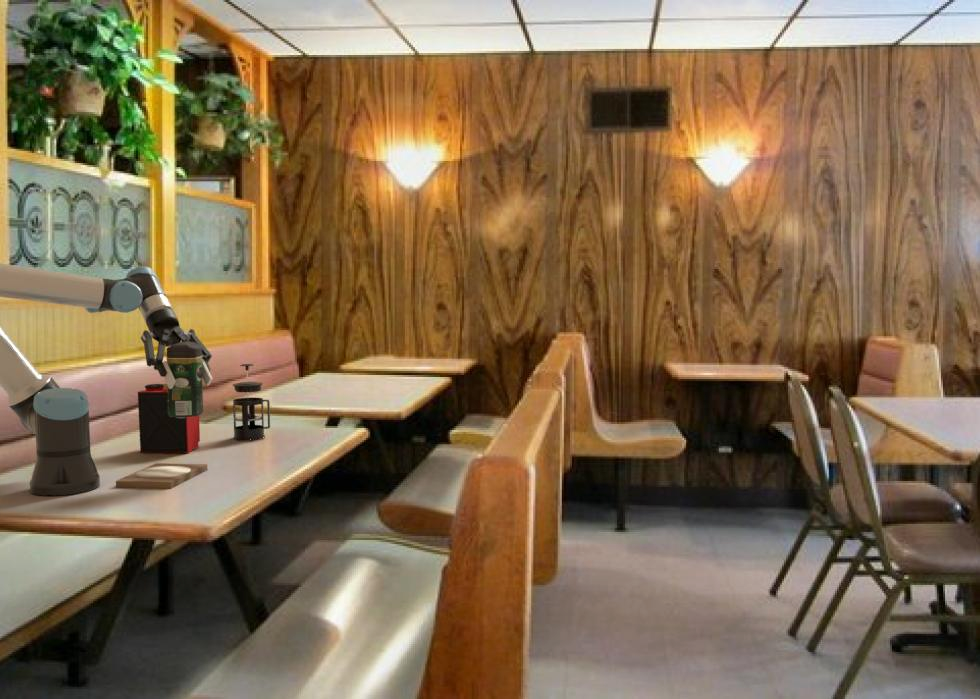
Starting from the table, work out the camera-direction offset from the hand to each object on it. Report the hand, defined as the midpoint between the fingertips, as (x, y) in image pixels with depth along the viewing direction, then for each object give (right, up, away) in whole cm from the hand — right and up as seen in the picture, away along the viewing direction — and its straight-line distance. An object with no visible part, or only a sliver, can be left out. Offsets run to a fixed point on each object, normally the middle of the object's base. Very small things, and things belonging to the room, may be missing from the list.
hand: (191, 383), depth 225 cm
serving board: (-8, -24, +2) cm, 25 cm away
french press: (0, -19, +57) cm, 60 cm away
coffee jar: (-2, -8, +3) cm, 9 cm away
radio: (-19, -21, +38) cm, 47 cm away
